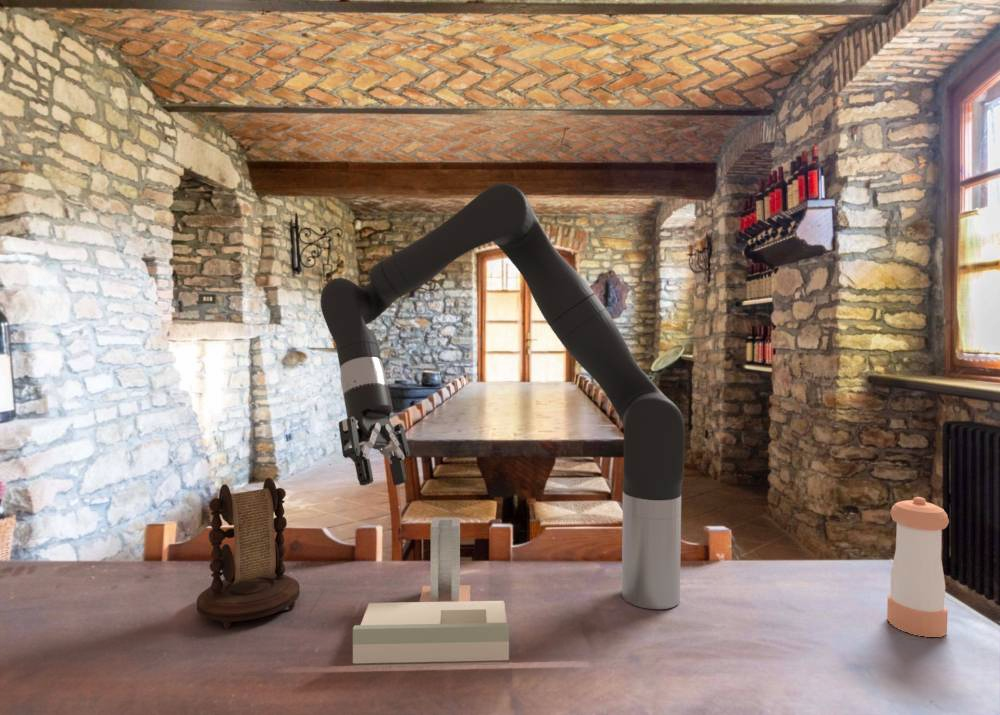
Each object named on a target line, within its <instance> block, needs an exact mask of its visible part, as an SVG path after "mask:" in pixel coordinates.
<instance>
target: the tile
mask: <svg viewBox="0 0 1000 715" xmlns="http://www.w3.org/2000/svg"><path fill="white" fill-rule="evenodd" d="M420 593H421V594H420V597H419V602H431V585H422V588H421V592H420ZM451 598H452V593H439V599H438V602H451ZM459 601H471V584H466V585H465V584H463V585H462V584H460V593H459Z"/></svg>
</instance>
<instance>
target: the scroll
mask: <svg viewBox="0 0 1000 715" xmlns="http://www.w3.org/2000/svg"><path fill="white" fill-rule="evenodd" d="M286 496H287V493H286V490H285V489H284V488H282V487H278V488H277V485H276V484H275V481H274V479H272V477H266V479H265V480H264V482H263V486H262V488H260V489H253V490H249V491H247V490H246V491H243V492H241V491H240V492H236V493H231V490H230V487H229V485H227V484H226V483H224V484H222V485H221V486H220V489H219V494H218V497H214V498H212V499H211V500H210V502H209V504H208V507H209V510H211V512H210V515H211V516H212V519H211V521H210V527H211V530H210V531H209V532H208V540H209V543H210V545H211V546H212V549H211V554H210V556H211V558H212V560H211V561H210V563H209V569H210V571H211V572H212V573H211V574H210V575H211V577H212V578H213V579H212V582H211V584H210V586H208V587H207V588H206V589H205V590H203V591H202V592H201V593H200V594H199V595H198V597H197V599H196V612H197V613H198V615H200V616H201V617H202V618H204V619H207V620H212V621H217V622H222V623H223V624H222V625H223V627H224V629H225V630H229V629H230V627H231V625H232V622H242V621H250V620H255V619H259V618H263V617H267V616H271V615H273V614H275V613H278V612H281V611H282V610H284V609H285V610H286V608H288V609H289V610H290V611H292V610H294V608H295V605H296V601H297V600H298V598H299V596H300V588H301V587H300V583H299V582H298V580H296V579H295V578H294V577H291V576H289V575H287V574H285V572H286V567H285V564H284V561H285V559H286V558H285V557H284V556H285V555H286V554H287V548H286V546H285V545H284V544H285V541H286V540H285V536H284V533H283V532H285V529H286V527H287V526H288V524H287V523H288V520H287V518H286V517H285V516H284V515H285V513H286V512H285V508H284V504H285V500H284V499H285V497H286ZM220 515H221V516H220ZM221 518H222V519H221ZM222 520H223V521H224V522H226V523H227V524H228V526H229V527H230V528H228V529H226V531H225V530H224V529H223V528H221V527H222V526H223V522H222ZM231 526H233V527H232V528H231ZM275 533H276V534H275ZM226 538H227V539H233V538H234V540H233V541H234V555H233V552H232V549H231V547H230V545H229V544H227V543H224V545H223V541H224V540H225V539H226ZM221 545H223V546H222V547H221ZM221 576H223V578H224V579H222V578H221Z"/></svg>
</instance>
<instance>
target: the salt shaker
mask: <svg viewBox="0 0 1000 715" xmlns="http://www.w3.org/2000/svg"><path fill="white" fill-rule="evenodd" d="M889 513H890V516H891V518H892V520H893V521H894V522H895V523H896V530H895V531H896V532H895V533H896V536H895V537H896V538H895V552H894V557H893V560H892V561H893V562H892V566H891V570H890V594H889V595H888V596H887V605H886V606H887V609H886V612H887V613H886V621H887V620H888V621H889V622H890V623H891V624H892V625H893V626H894V627H896V628H899V629H900V630H903V631H905V632H908V633H911V634H915V635H919V636H918V637H920V636H926V637H941V636H944V635H946V633H947V634H948V609H947V607H946V606H945V602H946V601H945V600H946V599H945V598H946V580H945V575H944V569H943V568H944V566H943V562H942V538H943V537H942V535H943V534H942V530H945V529H946V528H948V525H949V523H950V519H949V517H948V514H947V512H946V511H945V510H944V508H942V507H940V506H938V505H936V504H934V503H931V502H927V500H926V499H925V498H924V497H922V496H915V497H913V498H912V499H911V500H910V499H909V500H908V499H907V500H902V501H898V502H895V503H894V504H893V505H892V507H891V509H890V512H889ZM888 621H887V622H888ZM892 625H891V626H892ZM893 626H892V627H893ZM894 627H893V628H894ZM896 628H895V629H896ZM900 630H899V631H900ZM903 631H902V632H903ZM905 632H904V633H905ZM908 633H907V634H908ZM911 634H910V635H911ZM915 635H914V636H915ZM946 636H947V635H946ZM926 637H925V638H926ZM944 637H945V636H944ZM941 638H942V637H941Z"/></svg>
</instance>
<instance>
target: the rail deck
mask: <svg viewBox="0 0 1000 715" xmlns="http://www.w3.org/2000/svg"><path fill="white" fill-rule="evenodd" d="M506 615H507V613H506V606H505V601H504V600H474V601H473V600H470V601H458V602H420V601H415V602H414V601H411V602H410V601H408V602H406V601H402V602H369V603H368V604H367V607H366V610H365V612H364V615H363V618H362V621H361V623H360V624H357V625H356V624H355V625H354V626H353V627H352V664H353V665H352V668H353V669H354V668H360V669H361V668H398V667H399V668H401V667H404V668H405V667H442V666H443V667H444V666H448V667H449V666H453V667H454V666H485V665H486V666H488V665H489V666H491V665H494V666H495V665H497V666H498V665H510V662H509V660H510V622H507V616H506ZM478 661H479V662H478ZM480 661H482V662H480ZM485 661H486V662H485ZM487 661H488V662H487ZM489 661H490V662H489ZM492 661H493V662H492ZM498 661H499V662H498ZM432 662H433V663H432ZM434 662H435V663H434ZM437 662H439V663H437ZM441 662H442V663H441ZM443 662H444V663H443ZM446 662H447V663H446ZM388 663H389V664H388ZM390 663H391V664H390ZM394 663H397V664H394ZM399 663H400V664H399Z"/></svg>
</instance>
